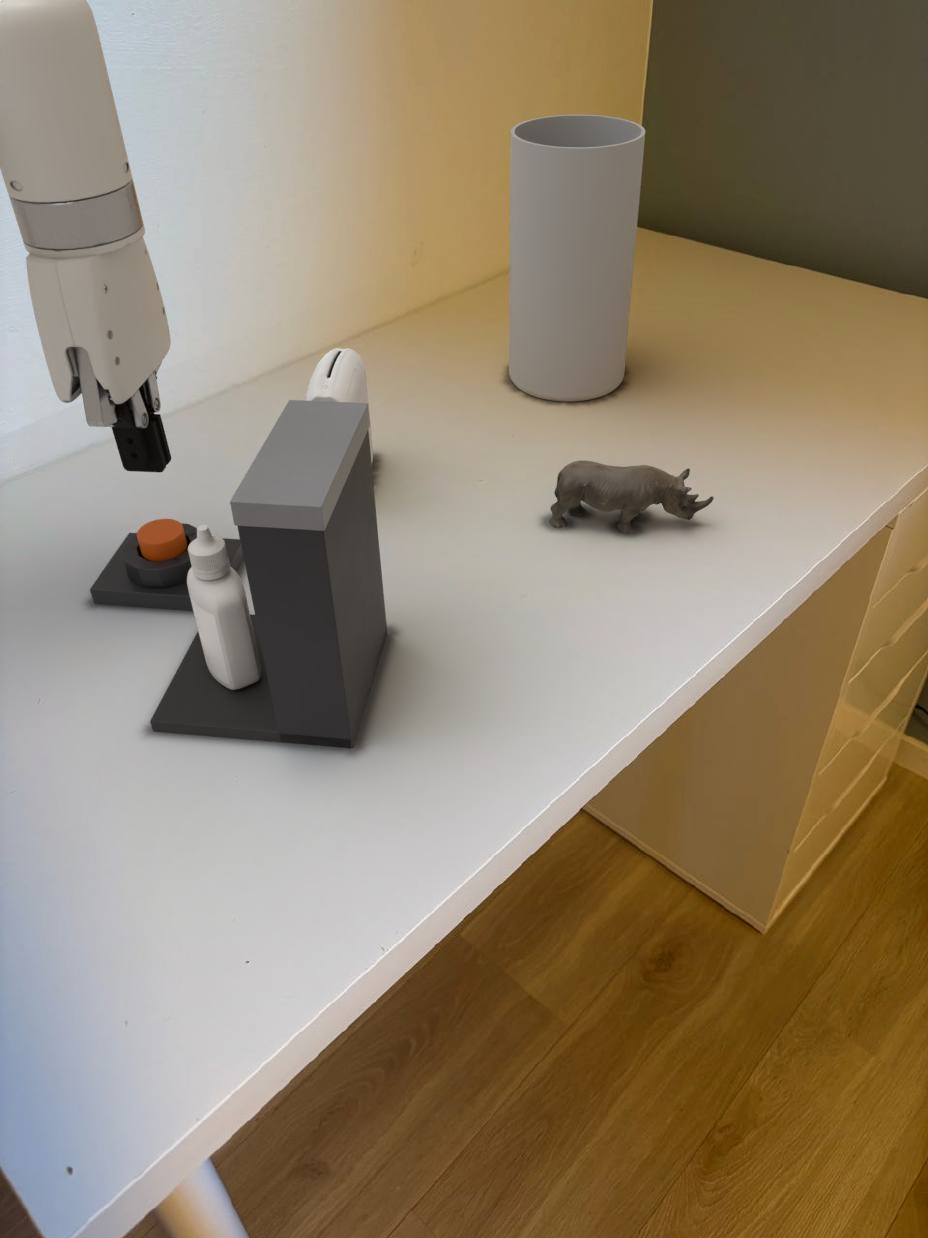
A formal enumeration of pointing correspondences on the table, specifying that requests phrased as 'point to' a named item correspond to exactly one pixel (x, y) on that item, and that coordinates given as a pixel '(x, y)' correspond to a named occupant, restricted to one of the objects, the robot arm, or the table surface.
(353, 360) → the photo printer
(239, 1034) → the table surface
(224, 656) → the eye dropper bottle
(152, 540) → the button
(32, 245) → the robot arm
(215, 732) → the coffee maker
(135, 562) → the control pad
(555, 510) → the rhino figurine
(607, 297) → the cylinder vase
